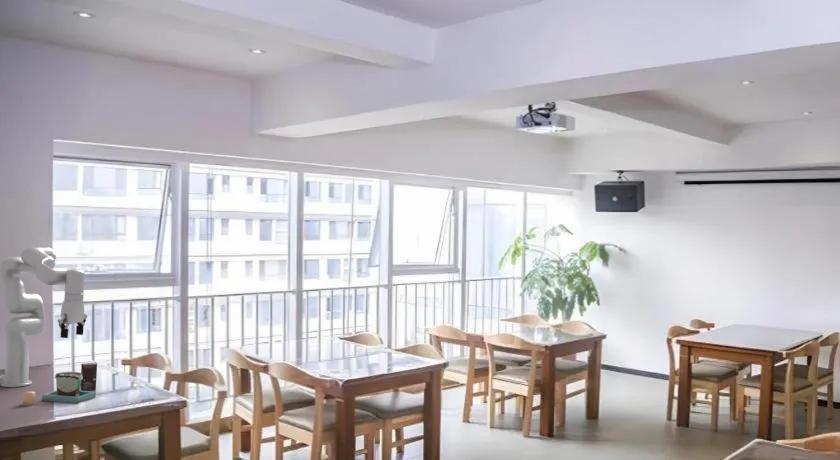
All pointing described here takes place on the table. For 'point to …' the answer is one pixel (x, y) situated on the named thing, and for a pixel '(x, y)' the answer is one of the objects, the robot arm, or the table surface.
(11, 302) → the robot arm
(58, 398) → the tray
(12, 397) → the table surface
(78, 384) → the food container
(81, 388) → the box
